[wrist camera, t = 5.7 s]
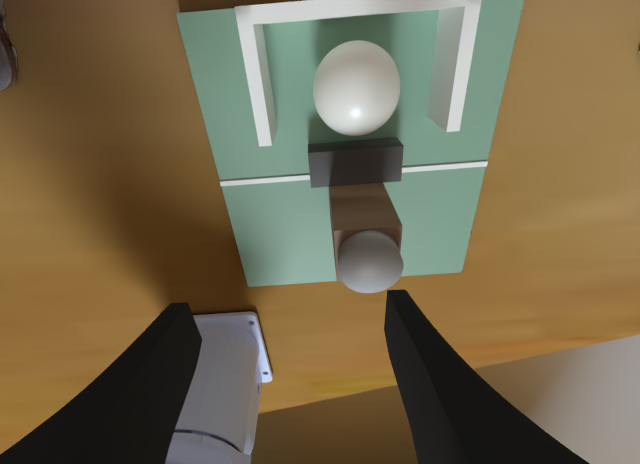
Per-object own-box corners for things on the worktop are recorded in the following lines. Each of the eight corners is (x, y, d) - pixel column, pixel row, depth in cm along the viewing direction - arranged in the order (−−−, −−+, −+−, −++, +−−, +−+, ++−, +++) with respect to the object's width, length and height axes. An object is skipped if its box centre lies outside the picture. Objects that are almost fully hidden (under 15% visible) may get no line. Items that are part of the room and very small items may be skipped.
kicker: (392, 214, 20) (424, 290, 15) (315, 220, 20) (316, 298, 15) (397, 137, 18) (439, 192, 12) (307, 144, 18) (306, 202, 12)
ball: (408, 139, 14) (414, 31, 12) (316, 146, 14) (308, 40, 12) (388, 125, 17) (391, 40, 15) (315, 131, 17) (309, 47, 16)
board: (458, 267, 24) (462, 273, 23) (249, 281, 24) (247, 287, 24) (520, -16, 15) (529, -18, 14) (180, 13, 15) (174, 13, 14)
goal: (437, 115, 17) (459, 131, 15) (266, 129, 17) (259, 146, 15) (453, -8, 14) (484, -16, 12) (247, 9, 14) (234, 6, 12)
